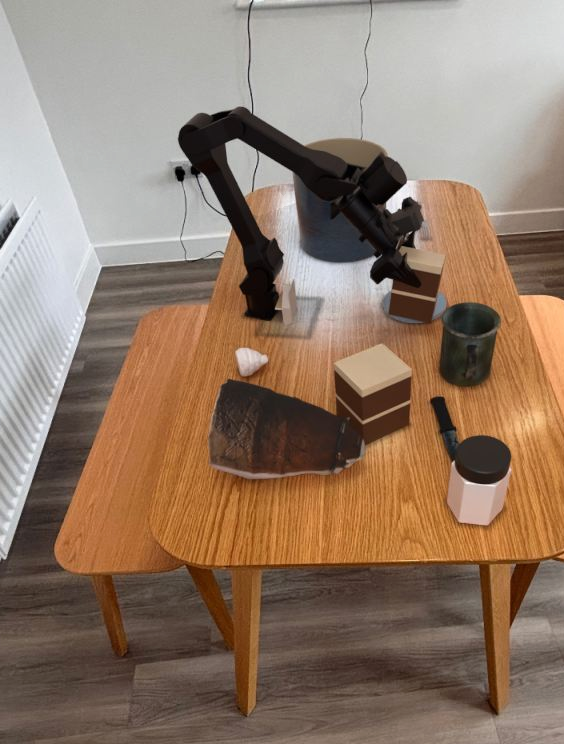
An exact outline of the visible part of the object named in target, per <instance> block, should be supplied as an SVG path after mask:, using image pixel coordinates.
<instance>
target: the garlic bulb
mask: <svg viewBox="0 0 564 744" xmlns="http://www.w3.org/2000/svg"><path fill="white" fill-rule="evenodd" d="M234 354H235V359H236V363H237V367H238V371H239V374H240V376H241V377H243V378H244V377H245V378H246V377H249V376H252V375H253V374H254V373H256V371H259V369H260V368H261V367H263V366H264V365H266V364H268V362H269V357H268V355H267V354H261V353H260V352H259V351H257V350H255V349H252V348H250V347H239V348H238V349H237V350H236V351H234Z"/></svg>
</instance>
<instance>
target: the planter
mask: <svg viewBox="0 0 564 744" xmlns="http://www.w3.org/2000/svg"><path fill="white" fill-rule="evenodd" d="M304 146H305V147H307V148H310V149H313V150H320V151H325V152H328V153H330V154H333V155H335V156H337V157H340V158H342V159H343V160H344V161H345V162H346V163H350V164H354V165H358V166H363V167H366V168H367V167H368V166H369V165H370V164H371V163H372V162H373V160H374V159H375V157H376V156H377V155H378V154H379V153H380V152H382V153H383V154H384V155H385V156H387V157H389V154H388V152H387V150H386V149H385V148H384V147H383V146H381V145H380V144H378V143H375V142H373V141H371V140H366V139H360V138H352V137H336V138H326V139H320V140H316V141H312V142H309V143H307V144H305V145H304ZM292 180H293V190H294V199H295V207H296V208H295V209H296V216H297V223H298V231H299V239H300V245H301V246H300V247H301V248H302V250H303V251H304V252H305V253H306V254H307V255H309V256H310V257H313V258H314V259H317V260H320V261H324V262H330V263H351V262H357V261H361V260H364V259H365V260H366V259H368V258H370V257H372V256H374V255H373V254H374V252H375V250H374V249H373V248H372V247H371V246H370V244H369V243H368V242H367V241H366V240H365V241H364V242H361V241H360V240H359V237H360V234H359V233H358V231H357V230H356V229H355V228H354V227H353V226H352V225H351V224H350V223H349V222H348V221H347V219H346V218H345V217H344V216H343V215H342V214H341V213H339V214H338V215H337V216H336V217H335V218H334V219H333V220H331V219H330V203H331V201H330V202H327V201H323V200H321V199H320V198H318V197H317V196H316V195H315V194H314V193H312V192H311V191H310V190H309V189H308V188H307V187H306V186H305V185H304V183H303V182H302V181H301V179H300V178H299V177H298V176H297V175H296V174H295V173H294V172H292ZM349 181H350V180H349ZM358 187H359V186H358ZM358 187H357V188H358ZM341 197H342V196H339V197H338V198H337V199H340V198H341ZM337 199H336V200H337ZM387 202H388V201H387ZM387 202H386V203H385V204H384V205H380V204H378V205H377V206H378V208H379V209H380V210H381V211H382V210H383V209H384V208H385V209H387Z"/></svg>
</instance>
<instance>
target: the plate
mask: <svg viewBox="0 0 564 744" xmlns="http://www.w3.org/2000/svg"><path fill="white" fill-rule="evenodd" d="M390 298H391V290H389V291H388V292H386V294H385V296H384V297H383V300H382V307H383V310H384V312H385V314H386V315H387V316H388V317H390V318H391V319H393V320H395V321H399V322H402V323H407V324H423V323H426V322H421V321H417V320H412V319H407V318H402V317H398V316H393V315H389V314H388V313H389V306H390ZM447 303H448V301H447V298H446V296H445V295H444V294H443V293H442V292H441V291H440V290H439V291H438V296H437V301H436V306H435V311H434V314H433V317H432V321H434V320H437V319H438V318H440V317H442V314H443V312H444V311H445V310H446V309H447Z"/></svg>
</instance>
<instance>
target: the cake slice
mask: <svg viewBox="0 0 564 744" xmlns="http://www.w3.org/2000/svg"><path fill="white" fill-rule="evenodd" d="M399 252H400V253H401V255H402V256H403V255H404V254H405V253H406V252H407V263H408V265H409V266H410V268H411V269H412V271H413V272H414V273H415V275H416V276H417V278H418V279H419V281H420V282H421V286H420V287H419V288H416V287H413V286H410V285H407V284H405V283H402V282H399V281H396V280H392V285H391V290H390V291H391V298H390V306H389V313H388V314H389V315H393V316H398V317H402V318H407V319H412V320H417V321H421V322H425V323H427V324H431V323H432V321H433V320H432V317H433V314H434V311H435V306H436V301H437V296H438V291H439V292H440V287H441V281H442V276H443V270H444V265H445V261H446V256H447V255H446V254H443V253H439V252H433V251H429V250H425V249H418V248H416V249H414V248H409V247H404V246H401V247H400V250H399ZM388 314H387V315H388ZM389 315H388V316H389Z"/></svg>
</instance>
